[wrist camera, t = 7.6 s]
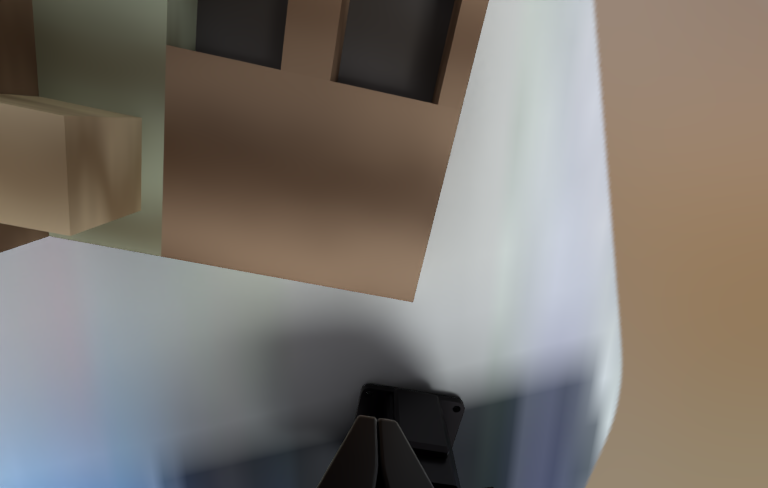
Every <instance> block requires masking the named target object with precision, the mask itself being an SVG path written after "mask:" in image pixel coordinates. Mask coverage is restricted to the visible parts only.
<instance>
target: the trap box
mask: <svg viewBox="0 0 768 488" xmlns="http://www.w3.org/2000/svg"><path fill="white" fill-rule="evenodd" d="M488 2H489V0H0V94H11V95H24V96H37V97H44V98H49V99H54V100H59V101H63V102H68V103H73V104H78V105H83V106H87V107H92V108H97V109H102V110H107V111H111V112H116V113H121V114H126V115H131V116H135V117H140V118H142V166H141V211H138V212H135V213H133V214H130V215H127V216H124V217H122V218H119V219H116V220H113V221H110V222H108V223H105V224H102V225H99V226H97V227H94V228H91V229H88V230H86V231H83V232H80V233H77V234H75V235H72V236H67V235H62V234H57V233H51V232H46V231H40V230H35V229H29V228H24V227H19V226H13V225H8V224H2V223H0V252H3V251H6V250H9V249H12V248H15V247H18V246H21V245H24V244H27V243H30V242H33V241H36V240H39V239H42V238H45V237H48V236H52V237H57V238H63V239H68V240H74V241H79V242H85V243H90V244H96V245H101V246H107V247H112V248H118V249H123V250H129V251H134V252H140V253H145V254H151V255H156V256H162V257H167V258H173V259H178V260H184V261H189V262H195V263H200V264H206V265H211V266H217V267H222V268H228V269H233V270H239V271H244V272H250V273H255V274H261V275H266V276H272V277H277V278H283V279H288V280H294V281H299V282H305V283H310V284H316V285H321V286H327V287H332V288H338V289H343V290H349V291H354V292H360V293H365V294H371V295H376V296H382V297H387V298H393V299H398V300H404V301H409V302H413V300H414V296H415V292H416V288H417V284H418V280H419V276H420V272H421V268H422V264H423V260H424V256H425V252H426V248H427V244H428V240H429V236H430V232H431V228H432V224H433V220H434V216H435V212H436V208H437V204H438V200H439V196H440V192H441V188H442V184H443V180H444V176H445V172H446V168H447V165H448V161H449V157H450V153H451V149H452V145H453V141H454V137H455V133H456V129H457V125H458V121H459V117H460V113H461V109H462V105H463V101H464V97H465V93H466V89H467V85H468V81H469V77H470V73H471V69H472V65H473V61H474V57H475V53H476V49H477V45H478V41H479V37H480V33H481V29H482V25H483V21H484V17H485V13H486V9H487V6H488Z"/></svg>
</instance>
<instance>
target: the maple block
mask: <svg viewBox="0 0 768 488" xmlns="http://www.w3.org/2000/svg"><path fill="white" fill-rule="evenodd" d="M141 166H142V118H140V117H135V116H131V115H126V114H121V113H116V112H111V111H107V110H102V109H97V108H92V107H87V106H83V105H78V104H73V103H68V102H63V101H59V100H54V99H49V98H44V97H37V96H24V95H11V94H0V223H2V224H8V225H13V226H19V227H24V228H29V229H35V230H40V231H46V232H51V233H57V234H62V235H67V236H72V235H75V234H77V233H80V232H83V231H86V230H88V229H91V228H94V227H97V226H99V225H102V224H105V223H108V222H110V221H113V220H116V219H119V218H122V217H124V216H127V215H130V214H133V213H135V212H138V211H141Z"/></svg>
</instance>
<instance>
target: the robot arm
mask: <svg viewBox="0 0 768 488" xmlns="http://www.w3.org/2000/svg"><path fill="white" fill-rule="evenodd" d="M366 392H372V393H371V394H368V393H366ZM454 406H458V407H457V408H453V407H454ZM464 409H465V408H464V404H463V402H462V400H461V399H458V398H454V397H448V396H442V395H435V394H430V393H424V392H417V391H411V390H405V389H399V388H393V387H387V386H381V385H375V384H366V385H364V386H363V387H362V389H361V393H360V398H359V402H358V407H357V411H356V416H355V420H354V423H353V425H352V427H351V429H350V430H349V432H348V434H347V436H346V437H345V439H344V441H343V443H342V444H341V446H340V448H339V449H338V451H337V453H336V455H335V456H334V458H333V460H332V462H331V463H330V465H329V467H328V469H327V470H326V472H325V474H324V475H323V477H322V479H321V481H320V482H319V484H318V486H317V488H461V487H460V483H459V478H458V474H457V469H456V465H455V460H454V455H453V451H452V446H453V443H454V440H455V437H456V434H457V431H458V428H459V425H460V422H461V419H462V416H463V413H464ZM487 488H493V487H487Z"/></svg>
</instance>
